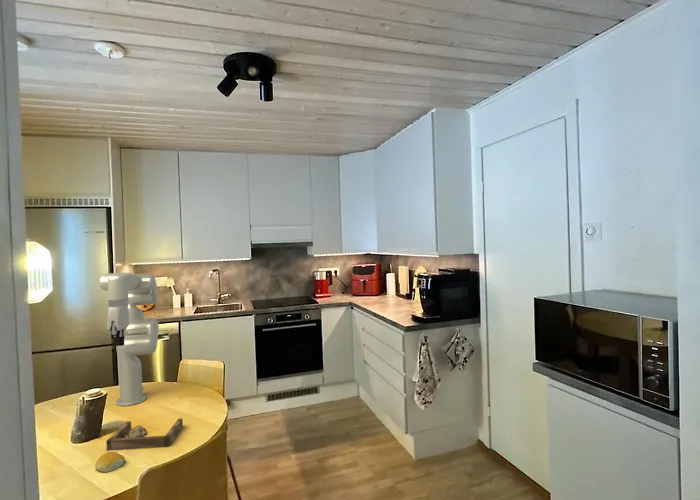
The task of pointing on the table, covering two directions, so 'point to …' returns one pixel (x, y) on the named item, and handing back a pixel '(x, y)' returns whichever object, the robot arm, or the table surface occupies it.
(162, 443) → the dark wooden frame
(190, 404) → the table surface
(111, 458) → the bread roll
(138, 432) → the mineral rock
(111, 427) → the table surface
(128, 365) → the robot arm
